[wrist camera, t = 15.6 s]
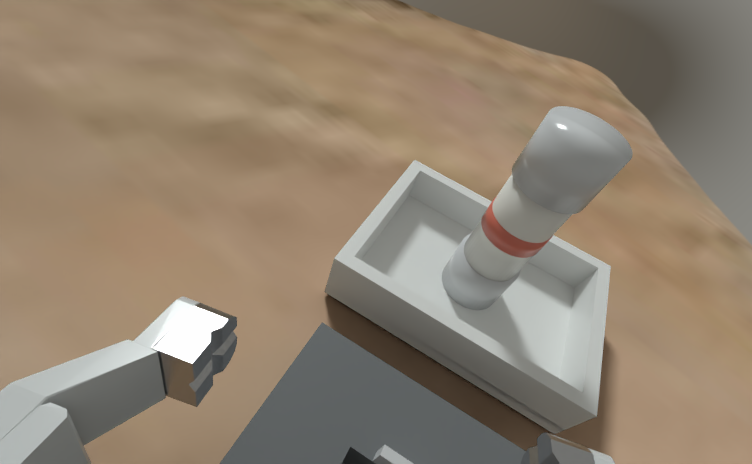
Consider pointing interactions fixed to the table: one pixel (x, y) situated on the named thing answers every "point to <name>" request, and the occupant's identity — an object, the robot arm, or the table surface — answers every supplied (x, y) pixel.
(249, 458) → the fuse holder
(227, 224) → the table surface
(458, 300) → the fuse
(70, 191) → the table surface
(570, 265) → the tray
